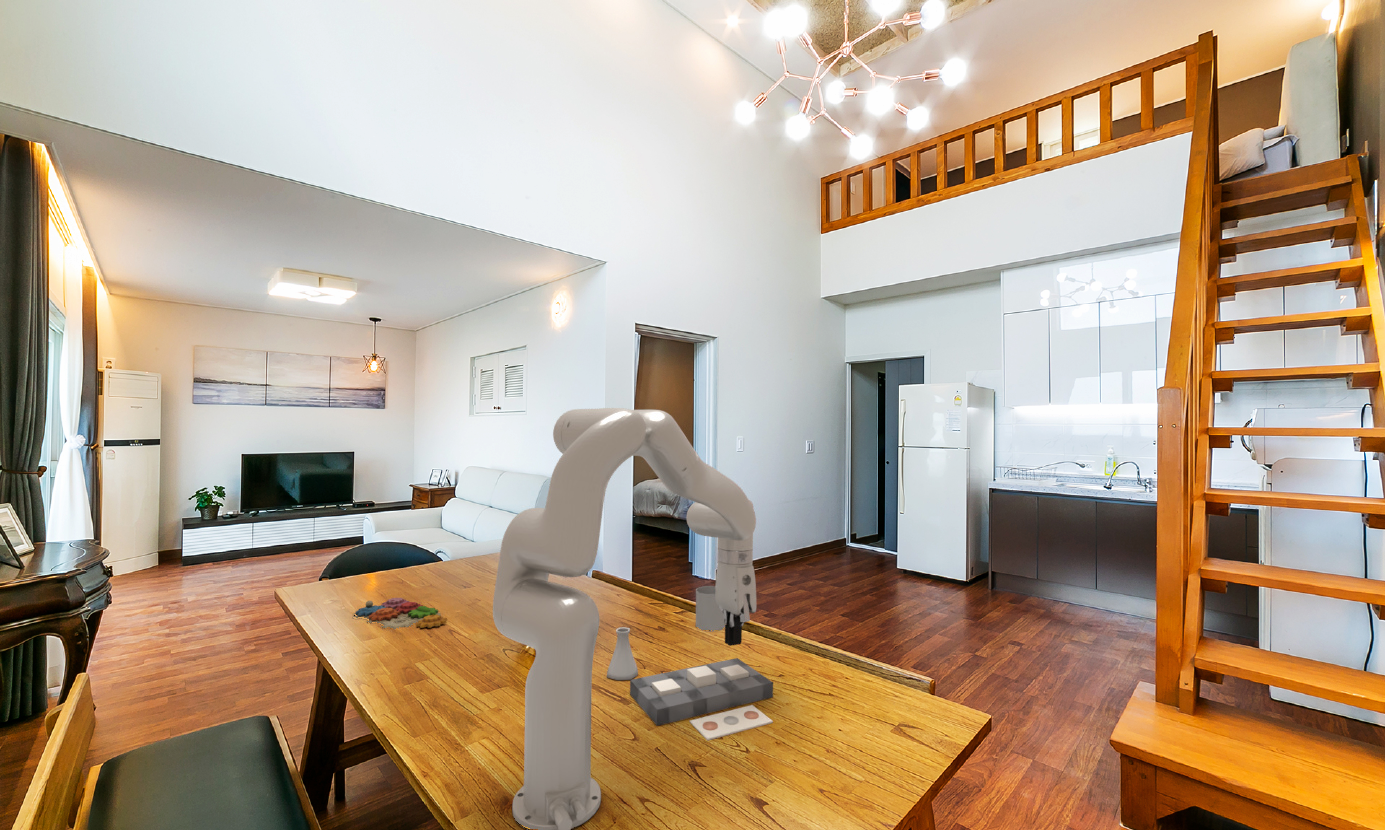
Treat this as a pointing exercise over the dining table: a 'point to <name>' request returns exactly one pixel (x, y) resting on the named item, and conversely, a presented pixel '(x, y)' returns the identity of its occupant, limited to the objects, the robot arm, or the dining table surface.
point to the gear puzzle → (401, 614)
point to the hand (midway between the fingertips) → (733, 643)
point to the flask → (622, 658)
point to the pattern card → (730, 722)
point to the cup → (708, 610)
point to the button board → (699, 693)
